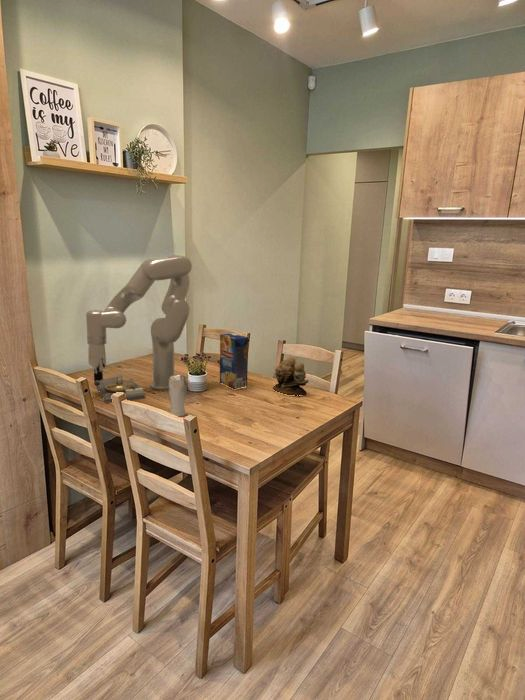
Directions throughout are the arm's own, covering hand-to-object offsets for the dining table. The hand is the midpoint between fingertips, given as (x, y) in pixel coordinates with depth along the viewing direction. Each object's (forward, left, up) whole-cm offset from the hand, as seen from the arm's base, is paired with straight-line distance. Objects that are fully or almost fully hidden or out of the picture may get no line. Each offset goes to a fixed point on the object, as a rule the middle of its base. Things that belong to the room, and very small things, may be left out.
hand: (98, 381), depth 189 cm
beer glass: (-36, +22, -6) cm, 42 cm away
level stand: (-8, -4, -6) cm, 10 cm away
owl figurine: (-84, -6, -6) cm, 84 cm away
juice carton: (-58, -14, -6) cm, 60 cm away
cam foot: (-6, -2, -4) cm, 7 cm away
